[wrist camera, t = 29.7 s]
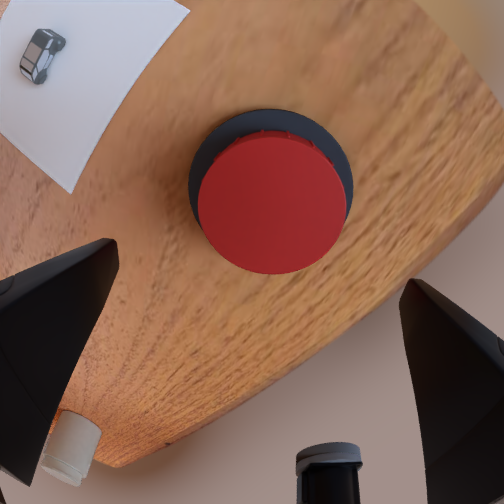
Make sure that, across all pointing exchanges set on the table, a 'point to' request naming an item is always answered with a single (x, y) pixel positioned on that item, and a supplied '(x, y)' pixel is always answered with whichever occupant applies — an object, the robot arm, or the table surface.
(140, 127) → the table surface
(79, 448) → the jar
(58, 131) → the white paper sheet
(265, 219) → the jar lid
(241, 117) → the coaster
